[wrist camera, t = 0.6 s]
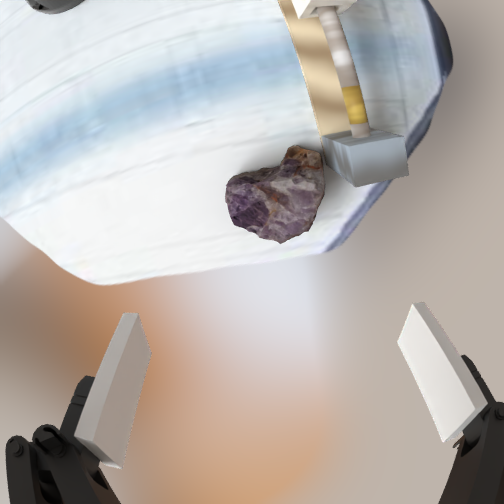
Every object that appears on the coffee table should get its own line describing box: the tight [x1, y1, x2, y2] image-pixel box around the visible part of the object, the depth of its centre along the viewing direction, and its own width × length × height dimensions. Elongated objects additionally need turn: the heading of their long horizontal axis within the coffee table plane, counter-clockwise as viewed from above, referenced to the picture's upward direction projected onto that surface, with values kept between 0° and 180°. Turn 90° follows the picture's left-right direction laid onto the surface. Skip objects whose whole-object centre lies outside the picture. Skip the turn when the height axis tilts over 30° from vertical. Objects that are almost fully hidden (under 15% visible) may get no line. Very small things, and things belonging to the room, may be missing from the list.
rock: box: [225, 146, 325, 244], centre depth 33 cm, size 12×9×10 cm
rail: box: [278, 0, 409, 187], centre depth 24 cm, size 30×6×11 cm, turn 16°
